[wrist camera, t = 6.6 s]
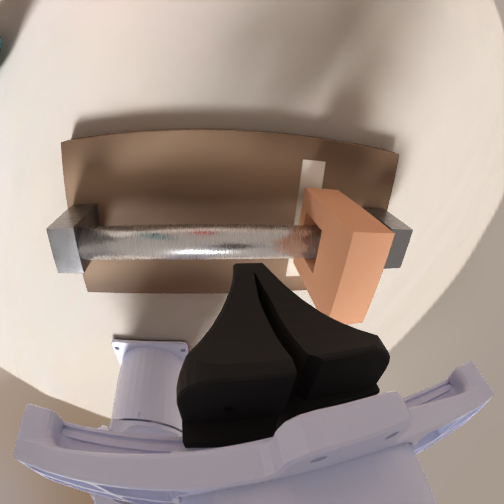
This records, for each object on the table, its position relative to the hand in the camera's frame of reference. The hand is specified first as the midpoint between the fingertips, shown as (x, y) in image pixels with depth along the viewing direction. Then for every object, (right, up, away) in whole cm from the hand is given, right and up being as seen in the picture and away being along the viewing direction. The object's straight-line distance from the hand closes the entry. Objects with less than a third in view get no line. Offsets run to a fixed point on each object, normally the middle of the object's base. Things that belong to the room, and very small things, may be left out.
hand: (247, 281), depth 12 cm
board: (-1, +4, +7) cm, 8 cm away
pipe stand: (-1, +3, +6) cm, 7 cm away
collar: (+5, +3, +6) cm, 8 cm away
